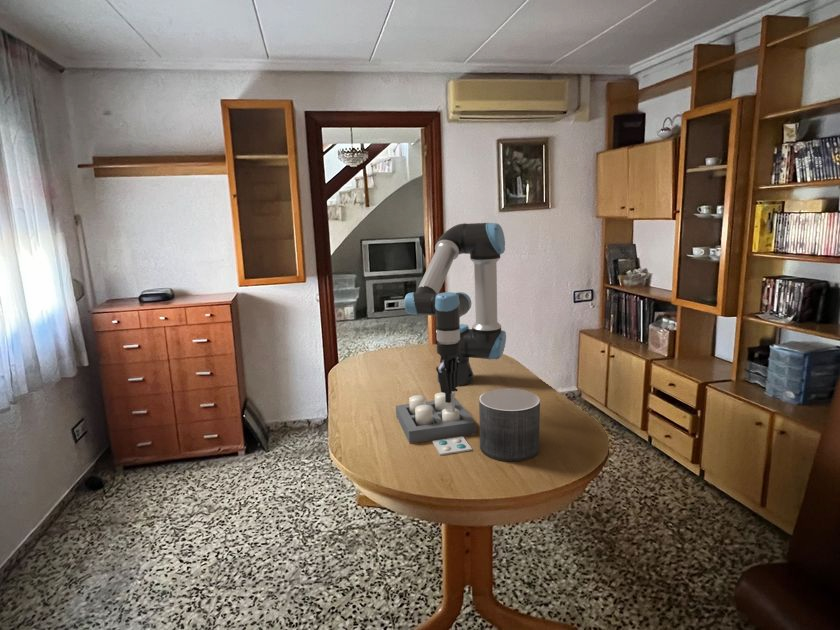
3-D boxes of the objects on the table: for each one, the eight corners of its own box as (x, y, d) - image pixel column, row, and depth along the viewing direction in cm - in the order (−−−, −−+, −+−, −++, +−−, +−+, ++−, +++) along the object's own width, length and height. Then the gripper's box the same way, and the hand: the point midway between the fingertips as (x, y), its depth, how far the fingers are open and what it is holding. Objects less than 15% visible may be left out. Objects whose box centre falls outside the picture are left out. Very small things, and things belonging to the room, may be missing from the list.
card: (462, 437, 165) (462, 435, 164) (472, 450, 156) (472, 448, 156) (432, 442, 162) (432, 440, 162) (440, 455, 154) (440, 453, 154)
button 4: (456, 422, 175) (456, 406, 174) (461, 428, 170) (461, 413, 169) (440, 424, 174) (440, 409, 173) (445, 431, 169) (444, 415, 167)
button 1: (424, 409, 181) (423, 394, 180) (427, 415, 176) (427, 400, 175) (408, 411, 180) (407, 396, 179) (411, 417, 175) (411, 402, 173)
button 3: (448, 406, 183) (448, 391, 182) (453, 412, 178) (452, 396, 177) (433, 408, 182) (432, 393, 181) (437, 414, 177) (437, 399, 175)
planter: (541, 463, 147) (541, 411, 143) (478, 460, 150) (477, 409, 147) (538, 435, 164) (538, 388, 160) (481, 433, 167) (480, 387, 164)
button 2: (430, 419, 173) (429, 403, 171) (434, 426, 167) (434, 410, 166) (414, 421, 171) (413, 406, 170) (418, 428, 166) (417, 412, 165)
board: (455, 408, 188) (455, 397, 187) (476, 433, 167) (475, 422, 166) (396, 416, 183) (395, 405, 182) (409, 443, 162) (409, 431, 161)
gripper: (447, 335, 173) (449, 401, 178) (427, 345, 162) (430, 415, 167) (468, 337, 169) (469, 405, 174) (449, 347, 158) (451, 419, 163)
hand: (450, 410), depth 170 cm, fingers closed
